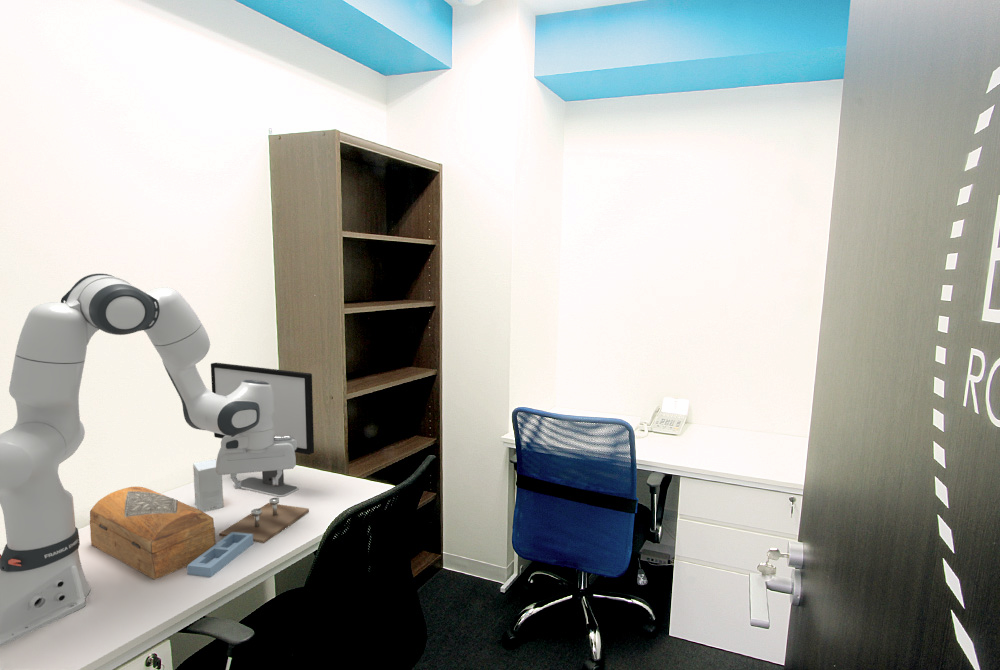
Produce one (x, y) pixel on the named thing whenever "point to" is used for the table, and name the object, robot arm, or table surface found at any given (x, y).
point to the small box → (207, 486)
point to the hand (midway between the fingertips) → (257, 486)
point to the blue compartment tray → (220, 554)
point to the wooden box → (150, 530)
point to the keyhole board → (267, 522)
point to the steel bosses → (259, 511)
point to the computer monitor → (288, 413)
